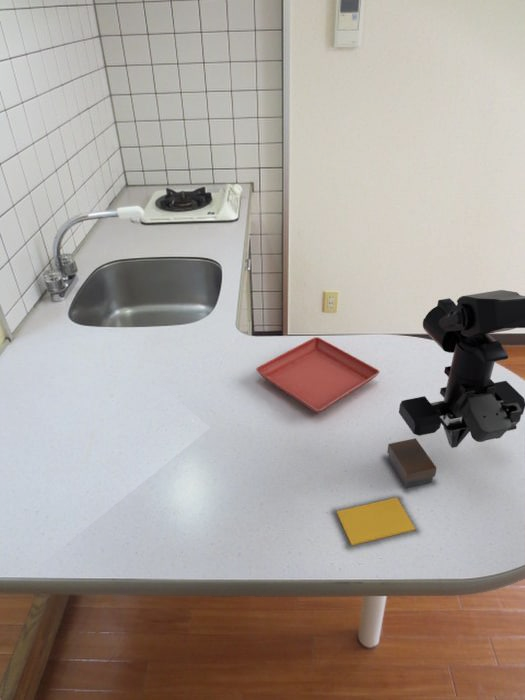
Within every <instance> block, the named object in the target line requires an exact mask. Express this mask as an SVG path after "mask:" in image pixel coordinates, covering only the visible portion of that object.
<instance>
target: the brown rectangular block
mask: <svg viewBox="0 0 525 700" xmlns="http://www.w3.org/2000/svg"><path fill="white" fill-rule="evenodd" d="M386 453H387V460H388V463H390V465H391V467H392V468H393V470H394V472H395V473H396V475H397V477H398V478H399V480H400V481H401V483H402V485H403V486H404V488H405V489H409V488H414V487H417V486H418V487H419V486H422V485H427V484H430V483H432V482H433V479H434V478H435V477H436V474H437V473H436V472H437V469H438V468H437V466H436V465H435V464H434V462H433V461H432V459H431V457H430V456H429V455H428V454H427V452H426V451H425V449H424V448H423V447H422V445H421V443H420V442H419V441H418V439H417V438H416V437H415V438H409V439H405V440H401V441H395V442H392V443H388V445H387V451H386Z"/></svg>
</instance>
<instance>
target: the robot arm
mask: <svg viewBox="0 0 525 700" xmlns="http://www.w3.org/2000/svg"><path fill="white" fill-rule="evenodd" d="M456 303H457V304H456ZM456 303H455V302H454V300H452V299H451V298H450V297H449V298H443V299H438V300H437V305H436V306H434V307H433V308H432V309H430V310H429V311H428V312H427V314H426V315H425V317H424V318H423V320H422V328H423V330H424V331H425V333H426V334H427V335H428V336H429V337H430V338H432V340H433V341H434V342H435V343H436V344H437V345H438V346H439V348H440V349H442V351H443V352H446V353H449V354H452V353H453V354H452V360H451V364H450V365H448V366H445V367H444V371H443V373H444V375H446V376H447V377H448V378H447V383H446V386H445V387H440V391H439V394H440V395H441V397H442V398H443V400H439V401H434V402H430V401H429V399H428V398H427V397H426V396H425V395H424V396H418V397H413V398H408V399H403V400H401V402H400V404H399V409H398V414H399V415H400V417H401V418H402V419H403V421H404V422H405V424H406V425H407V427H408V428H409V430H410V431H411V433H412V434H413V435H416V436H418V437H421V436H425V435H430V434H434V433H436V432H437V431H438V430H439V429H441V425H442V427H443V430H444V433H445V437H446V439H447V442H448V445H449V446H450V448H452V449H453V448H458V446H459V445H460V444H461V443H462V441H463V440H464V439H465V438H466V437H467V436H468V434H470V436H471V438H472V439H473V440H474V441H475V442H478V443H482V442H486V441H490V440H495V439H500V438H502V437H503V436H504V435H505V434H506V432H509V431H514V430H517V428H518V427H517V425H518V424H519V422H520V421H521V417H522V415H523V414H524V411H525V397H524V396H523V395H521V393H519V391H517V389H515V387H513V386H512V385H511V384H510V383H509V382H508V381H507V380H502V381H497V382H494V381H493V380H492V378H491V377H492V374H493V371H494V367H495V364H496V363H495V362H499V361H500V362H501V361H505V360H508V359H509V354H508V352H507V350H506V349H505V348H504V347H503V345H502V341H501V340H496V339H494V337H492V336H491V334H495V333H502V332H506V331H512V330H514V329H525V295H521V294H520V293H519V292H517V291H511V290H505V289H499V290H493V291H485V292H479V293H473V294H466V295H462V296H459V297H458V298H457V300H456Z"/></svg>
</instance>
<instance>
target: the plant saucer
mask: <svg viewBox="0 0 525 700" xmlns="http://www.w3.org/2000/svg"><path fill="white" fill-rule="evenodd" d="M255 370H256V372H257V373H258V374H259V375H260V376H261V377H262V378H264V379H265V380H266V381H267V382H269V383H270V384H271V385H273V386H274V387H277V388H278V389H279V390H280V391H282V392H284V393H285V394H287V395H288V396H290V397H291V398H292V399H294V400H295V401H297V402H299V403H300V404H302V405H303V406H305V407H306V408H307V409H309V410H310V411H312V412H314V413H315V414H320V413H323V412H324V411H325V410H327V409H329V408H331V407H332V406H334V405H335V404H336V403H338V402H339V401H342V400H343V399H344V398H346V397H348V396H349V395H351V394H352V393H354V392H355V391H357V390H359V389H360V388H362V387H363V386H365V385H367V384H368V383H369V382H371V381H372V380H374V379H375V378H376V377H377V376H378V375H379V374H380V370H379V369H378V368H376V367H374V366H373V365H370V364H368V363H366V362H365V361H363V360H361V359H359V358H357V357H356V356H355V355H352V354H350V353H348V352H346V350H343V349H340V348H339V347H337V346H336V345H334V344H332V343H330V342H327V341H326V340H325V339H322V338H321V337H317V336H316V337H315V336H314V337H312V338H311V339H308V340H307V341H305V342H302V343H301V344H299V345H297V346H295V347H294V348H291V349H289V350H288V351H286V352H283V353H282V354H280V355H278V356H276V357H274V358H273V359H271V360H269V361H267V362H265V363H263V364H261V365H259V366H257V367H256V369H255Z"/></svg>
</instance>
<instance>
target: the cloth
mask: <svg viewBox="0 0 525 700" xmlns="http://www.w3.org/2000/svg"><path fill="white" fill-rule="evenodd" d="M336 514H337V516H338V519H339V521H340V523H341V525H342V528H343V531H344V532H345V534H346V537H347V538H348V541H349V544H350V545H351V546H356V545H360V544H365V543H368V542H372V541H377V540H381V539H384V538H389V537H393V536H396V535H397V536H398V535H400V534H405V533H409V532H412V531H415V530H416V527H415V525H414V524H413V522H412V521H411V519H410V517H409V515H408V513H407V512H406V510H405V509H404V507H403V505H402V503H401V501H400V500H399V498H398V497H393V498H388V499H384V500H379V501H376V502H370V503H367V504H363V505H359V506H354V507H350V508H346V509H341V510H337V511H336Z"/></svg>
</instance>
